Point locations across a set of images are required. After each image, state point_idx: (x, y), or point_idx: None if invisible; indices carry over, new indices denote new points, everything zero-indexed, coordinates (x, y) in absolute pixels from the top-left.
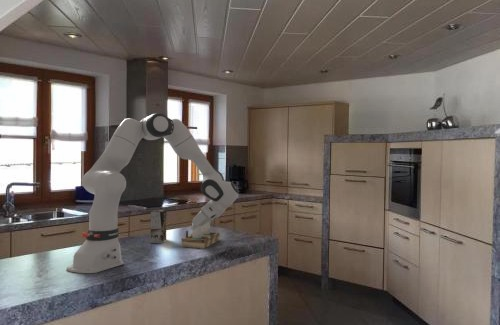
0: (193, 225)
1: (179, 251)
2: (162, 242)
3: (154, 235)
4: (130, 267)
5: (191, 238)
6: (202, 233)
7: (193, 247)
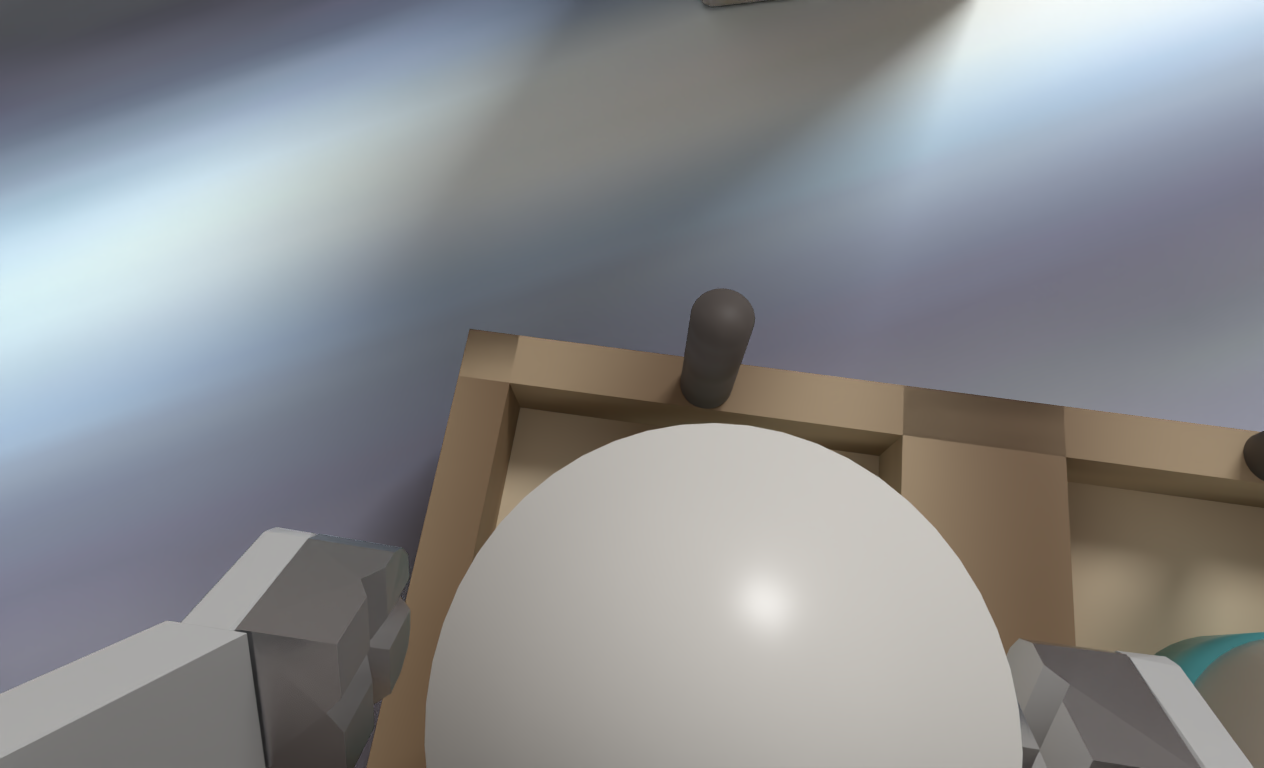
0: (100, 684)
1: (97, 488)
2: (722, 2)
3: None
4: None
5: None
6: None
7: None
